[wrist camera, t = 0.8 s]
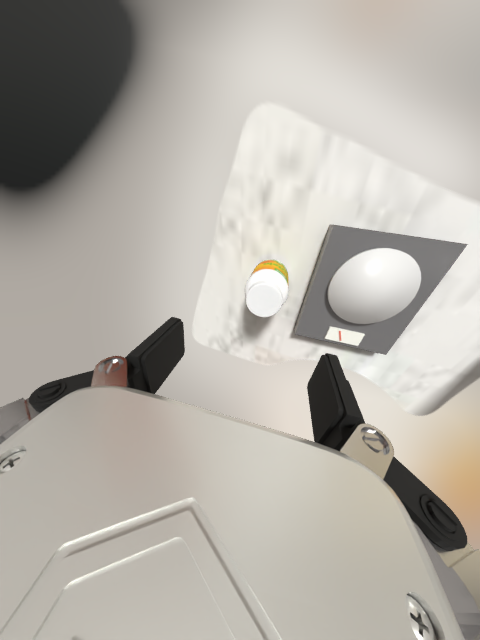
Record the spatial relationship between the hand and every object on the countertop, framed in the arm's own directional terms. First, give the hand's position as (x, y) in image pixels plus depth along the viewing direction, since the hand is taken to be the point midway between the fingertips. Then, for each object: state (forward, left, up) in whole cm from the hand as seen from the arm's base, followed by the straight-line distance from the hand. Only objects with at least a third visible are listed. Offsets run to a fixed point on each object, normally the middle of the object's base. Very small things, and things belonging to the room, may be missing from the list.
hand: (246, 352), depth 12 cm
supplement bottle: (0, 0, -19) cm, 19 cm away
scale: (-13, 0, -18) cm, 23 cm away
